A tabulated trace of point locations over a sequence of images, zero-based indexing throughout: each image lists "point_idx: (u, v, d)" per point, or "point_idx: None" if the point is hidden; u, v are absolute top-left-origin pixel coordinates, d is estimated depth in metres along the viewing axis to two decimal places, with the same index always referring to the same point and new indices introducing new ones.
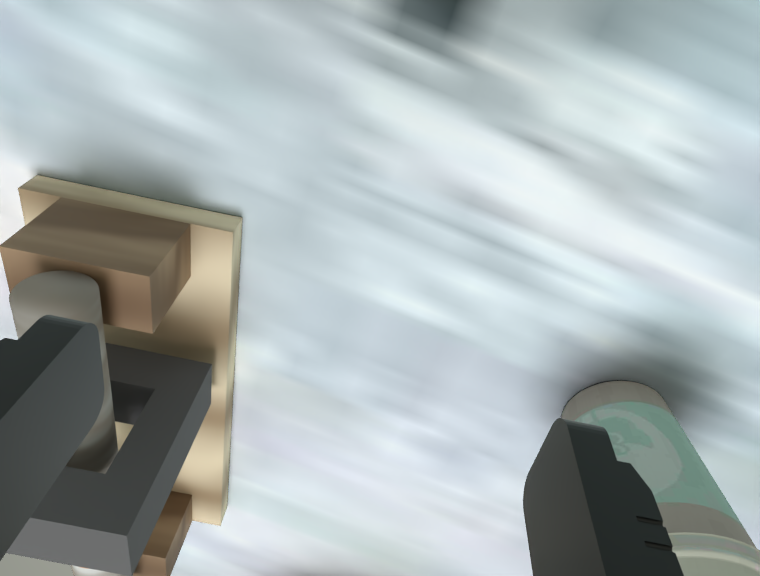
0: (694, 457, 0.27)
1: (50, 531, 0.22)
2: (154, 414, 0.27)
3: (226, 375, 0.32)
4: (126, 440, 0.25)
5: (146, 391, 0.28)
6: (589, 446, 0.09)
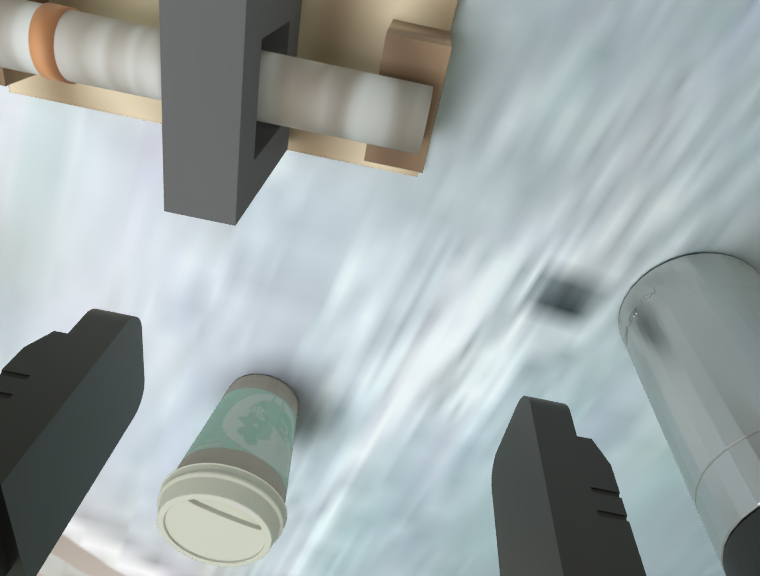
0: None
1: (221, 153, 0.22)
2: (272, 146, 0.28)
3: None
4: (262, 145, 0.27)
5: None
6: (550, 421, 0.09)
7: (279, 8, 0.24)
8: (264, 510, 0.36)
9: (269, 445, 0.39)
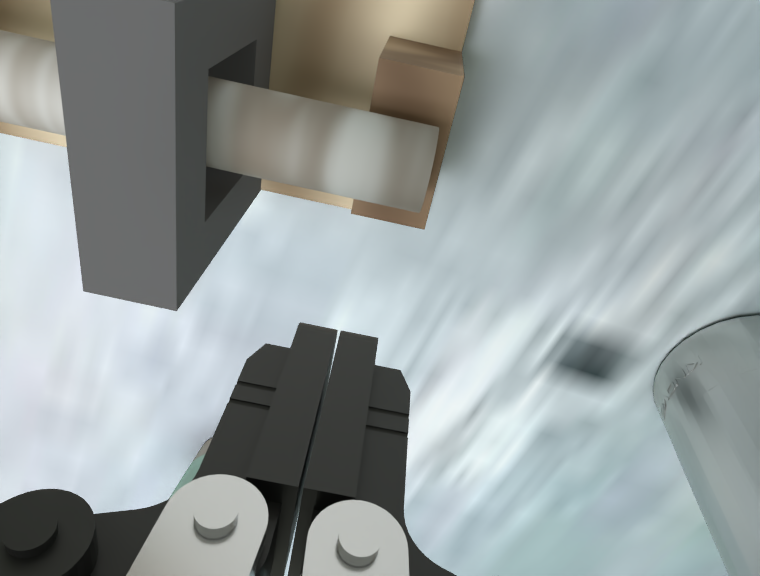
0: None
1: (152, 222, 0.17)
2: (236, 196, 0.22)
3: None
4: (219, 198, 0.21)
5: None
6: (353, 351, 0.10)
7: (237, 25, 0.18)
8: None
9: None
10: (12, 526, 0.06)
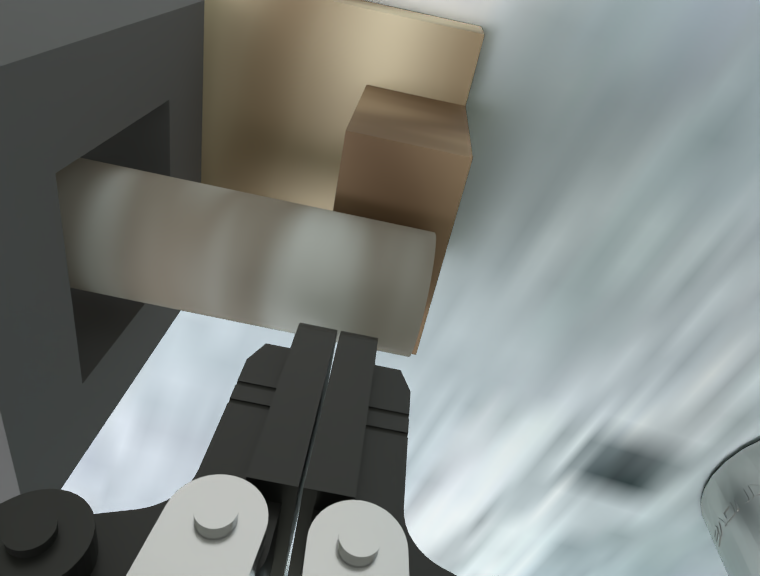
0: None
1: None
2: (150, 313, 0.16)
3: None
4: (117, 331, 0.14)
5: None
6: (353, 350, 0.10)
7: (122, 90, 0.12)
8: None
9: None
10: (12, 526, 0.06)
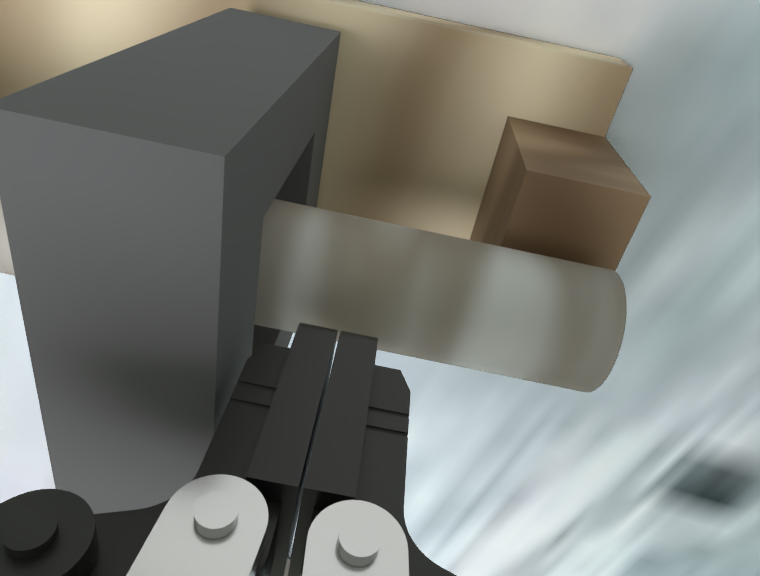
0: None
1: (173, 462, 0.10)
2: (281, 339, 0.16)
3: None
4: None
5: None
6: (353, 351, 0.10)
7: (299, 129, 0.12)
8: None
9: None
10: (12, 526, 0.06)
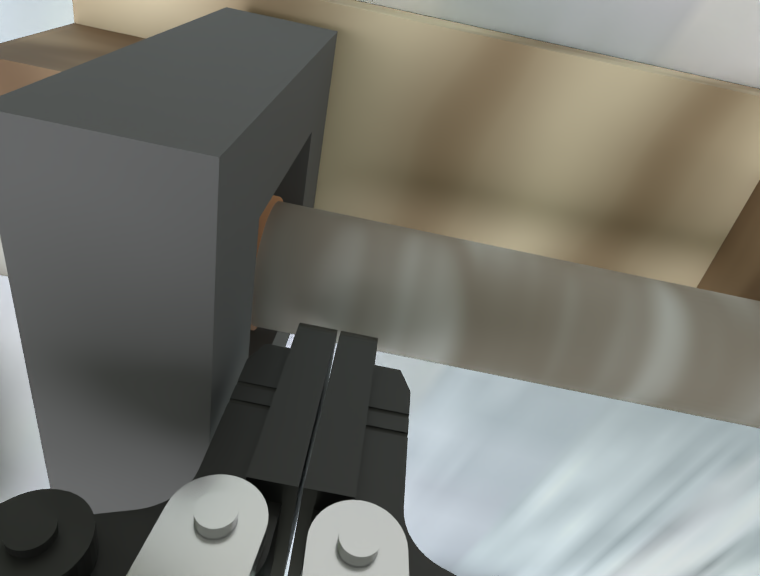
0: None
1: (170, 465, 0.10)
2: (278, 341, 0.16)
3: None
4: None
5: None
6: (353, 350, 0.10)
7: (295, 129, 0.12)
8: None
9: None
10: (12, 526, 0.06)
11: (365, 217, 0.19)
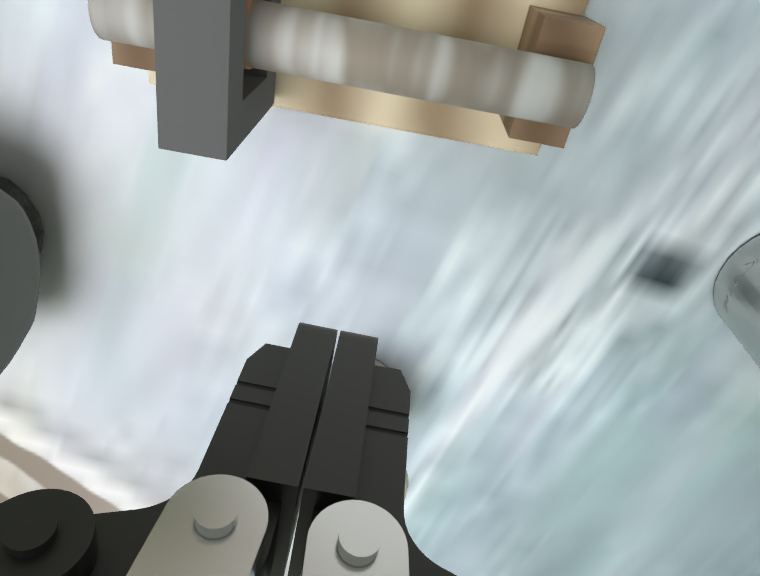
0: None
1: (211, 87, 0.24)
2: (259, 95, 0.30)
3: (389, 127, 0.35)
4: (250, 91, 0.28)
5: None
6: (353, 350, 0.10)
7: None
8: None
9: None
10: (12, 526, 0.06)
11: None
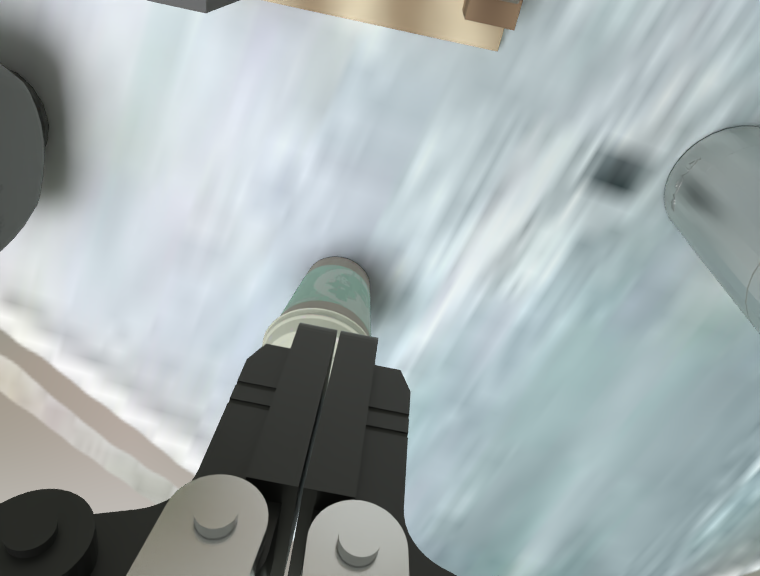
0: None
1: None
2: None
3: (362, 21, 0.39)
4: None
5: None
6: (353, 351, 0.10)
7: None
8: None
9: (356, 304, 0.44)
10: (12, 526, 0.06)
11: None
